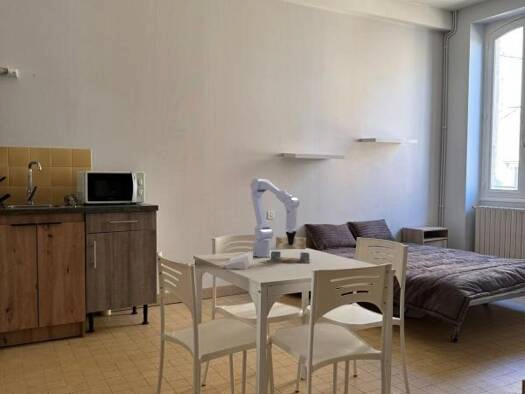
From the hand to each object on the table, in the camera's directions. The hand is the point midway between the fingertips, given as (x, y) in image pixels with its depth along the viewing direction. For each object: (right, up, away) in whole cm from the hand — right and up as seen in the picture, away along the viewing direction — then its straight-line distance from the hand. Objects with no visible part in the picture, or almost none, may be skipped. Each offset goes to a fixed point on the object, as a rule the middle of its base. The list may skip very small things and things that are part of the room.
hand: (290, 244), depth 276 cm
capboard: (-1, -9, -2) cm, 9 cm away
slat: (0, -2, 0) cm, 2 cm away
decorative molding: (-27, -9, -13) cm, 32 cm away
